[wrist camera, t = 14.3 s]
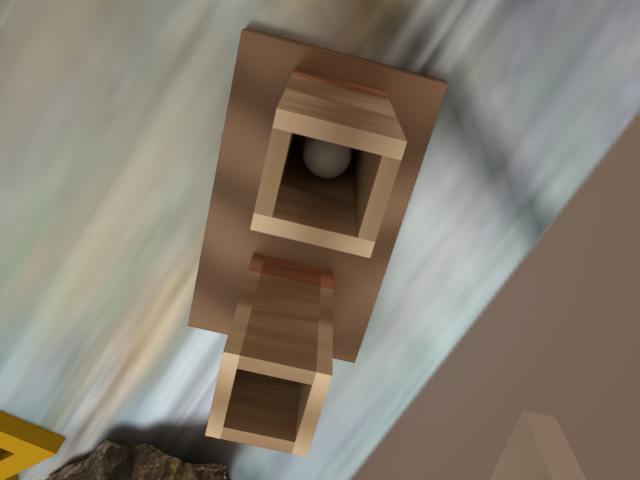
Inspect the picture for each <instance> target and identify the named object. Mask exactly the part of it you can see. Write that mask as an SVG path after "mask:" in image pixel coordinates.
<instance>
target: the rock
mask: <svg viewBox="0 0 640 480" xmlns="http://www.w3.org/2000/svg"><path fill="white" fill-rule="evenodd" d="M46 480H231V479H229V477H228V474H227V469H226V465H223V464H219V463H211V464H191V463H186V462H184V461H182V460H180V459H178V458H176V457H173V456H170V455H168V454H166V453H165V452H163V451H161V450H159V449H157V448H156V447H154V446H152V445H150V444H140V445H138V446H136V447H134V446H131V445H129V444H126V443H123V442H117V441H112V440H109V439H107V440H104V441H103V442H102V443H101V444H100V445H99V446H98V447H97V449H96V450H95V451H94V452H93V453H92V454H91V455H90V456H89V458H88V459H86V460H83V461H80V462H77V463H73V464H70V465H67V466H65V467H64V468H63V469H62V470H61V471H60V472H59V473H56V474H53V475H52V476H51V477H50V478H47V479H46Z"/></svg>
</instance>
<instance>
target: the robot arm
mask: <svg viewBox="0 0 640 480" xmlns="http://www.w3.org/2000/svg"><path fill="white" fill-rule="evenodd" d="M490 480H586V479H585V477H584V475H583V473H582V471H581V469H580V467H579V465H578V463H577V461H576V459H575V457H574V455H573V453H572V451H571V449H570V447H569V445H568V443H567V441H566V439H565V437H564V435H563V433H562V431H561V429H560V427H559V425H558V423H557V421H556V419H555V417H551V416H546V415H541V414H536V413H531V412H526V411H523V412H522V414H521V417H520V419H519V420H518V423H517V425H516V427H515V429H514V431H513V433H512V435H511V437H510V439H509V441H508V443H507V446H506V448H505V450H504V452H503V454H502V456H501V458H500V460H499V462H498V464H497V466H496V469H495V471H494V473H493V475H492V477H491V479H490Z"/></svg>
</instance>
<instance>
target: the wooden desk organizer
mask: <svg viewBox="0 0 640 480" xmlns="http://www.w3.org/2000/svg"><path fill="white" fill-rule="evenodd" d="M294 69H298V70H302V71H306V72H310V73H314V74H318V75H321V76H325V77H329V78H333V79H337V80H341V81H344V82H348V83H352V84H356V85H360V86H364V87H367V88H371V89H375V90H379V91H383V92H386V93H387V96H388V98H389V100H390V103H391V105H392V107H393V110H394V112H395V114H396V117H397V119H398V121H399V124H400V126H401V128H402V130H403V133H404V135H405V137H406V140H407V144H406V147H405V151H404V154H403V157H402V160H401V163H400V166H399V169H398V172H397V176H396V179H395V182H394V185H393V188H392V191H391V194H390V197H389V201H388V204H387V207H386V210H385V213H384V216H383V219H382V223H381V226H380V229H379V232H378V235H377V238H376V241H375V244H374V248H373V251H372V254H371V257H370V258H368V257H363V256H359V255H355V254H351V253H347V252H342V251H338V250H334V249H330V248H325V247H321V246H317V245H313V244H309V243H304V242H300V241H296V240H292V239H288V238H283V237H279V236H275V235H271V234H266V233H262V232H258V231H254V230H250V228H251V223H252V219H253V214H254V210H255V205H256V200H257V196H258V191H259V187H260V182H261V177H262V173H263V168H264V164H265V159H266V154H267V150H268V145H269V141H270V136H271V131H272V127H273V122H274V118H275V113H276V108H277V106H278V104H279V102H280V100H281V97H282V95H283V93H284V91H285V89H286V87H287V84H288V82H289V80H290V78H291V76H292V73H293V71H294ZM447 86H448V84H447V83H446V82H445V81H444V80H441V79H438V78H434V77H430V76H426V75H422V74H419V73H415V72H411V71H407V70H403V69H400V68H396V67H392V66H388V65H385V64H381V63H377V62H373V61H369V60H366V59H362V58H358V57H354V56H351V55H347V54H343V53H339V52H335V51H332V50H328V49H324V48H320V47H317V46H313V45H309V44H305V43H301V42H298V41H294V40H290V39H286V38H283V37H279V36H275V35H271V34H267V33H264V32H260V31H256V30H252V29H249V28H244V29H243V30H242V32H241V38H240V43H239V49H238V54H237V59H236V65H235V70H234V76H233V81H232V87H231V92H230V98H229V103H228V109H227V114H226V120H225V125H224V131H223V136H222V142H221V147H220V153H219V158H218V164H217V169H216V175H215V180H214V186H213V191H212V197H211V202H210V208H209V213H208V219H207V224H206V230H205V235H204V241H203V246H202V252H201V257H200V262H199V268H198V273H197V279H196V284H195V290H194V295H193V301H192V306H191V312H190V317H189V323H188V326H191V327H195V328H200V329H204V330H209V331H213V332H218V333H222V334H227V335H228V338H227V341H226V345H225V348H224V351H223V355H222V360H221V365H220V369H219V374H218V378H217V383H216V388H215V392H214V397H213V402H212V406H211V411H210V415H209V420H208V425H207V429H206V434H205V436H209V437H214V438H219V439H224V440H229V441H233V442H238V443H243V444H248V445H253V446H257V447H262V448H267V449H272V450H277V451H281V452H286V453H291V454H296V455H301V456H305V457H307V454H308V450H309V447H310V444H311V441H312V438H313V435H314V432H315V429H316V425H317V422H318V419H319V416H320V413H321V410H322V407H323V403H324V400H325V397H326V394H327V391H328V388H329V385H330V381H331V378H332V358H335V359H339V360H344V361H348V362H353V363H355V360H356V357H357V354H358V351H359V348H360V346H361V343H362V340H363V337H364V334H365V331H366V328H367V325H368V322H369V319H370V316H371V313H372V310H373V307H374V304H375V301H376V298H377V295H378V292H379V289H380V286H381V283H382V280H383V277H384V274H385V271H386V268H387V265H388V262H389V259H390V256H391V253H392V250H393V247H394V244H395V241H396V238H397V235H398V232H399V229H400V226H401V223H402V220H403V217H404V214H405V211H406V208H407V205H408V202H409V199H410V196H411V193H412V190H413V187H414V184H415V181H416V178H417V175H418V172H419V169H420V166H421V163H422V160H423V157H424V154H425V151H426V148H427V146H428V143H429V140H430V137H431V134H432V131H433V128H434V125H435V122H436V119H437V116H438V113H439V110H440V107H441V104H442V101H443V98H444V95H445V92H446V89H447ZM291 149H295V150H299V151H303V158H304V162H305V164H306V166H307V168H308V169H309V170H310V171H311V172H312V173H313V174H314V175H316V176H318V177H321V178H333V177H336V176H338V175H340V174H342V173H343V172H344V171H345V170H346V169H347V167H348V165H349V163H351V164H352V160H353V157H354V153H355V150H356V149H355V148H351V147H347V146H343V145H339V144H335V143H331V142H327V141H323V140H319V139H315V138H311V137H307V136H303V135H299V134H295V133H294V136H293V140H292V144H291Z"/></svg>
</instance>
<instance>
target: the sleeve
mask: <svg viewBox="0 0 640 480" xmlns="http://www.w3.org/2000/svg"><path fill="white" fill-rule="evenodd" d="M294 133H295V134H299V135H303V136H307V137H311V138H315V139H319V140H323V141H327V142H331V143H335V144H339V145H343V146H347V147H351V148H355V149H356V150H355V153H354V157H353V160H352V164H351V163H349V165H348V167H347V169H346V170H345V171H344V172H343V173H342V174H340V175H338V176H336V177H333V178H321V177H318V176H316V175H314V174H313V173H312V172H311V171H310V170H309V169H308V168H307V166H306V164H305V162H304V158H303V151H299V150H295V149H291V144H292V140H293V136H294ZM406 144H407V140H406V137H405V135H404V133H403V130H402V128H401V126H400V124H399V121H398V119H397V117H396V114H395V112H394V110H393V107H392V105H391V103H390V100H389V98H388V96H387V93H386V92H383V91H379V90H375V89H371V88H367V87H364V86H360V85H356V84H352V83H348V82H344V81H341V80H337V79H333V78H329V77H325V76H321V75H318V74H314V73H310V72H306V71H302V70H298V69H294V71H293V73H292V76H291V78H290V80H289V82H288V84H287V87H286V89H285V91H284V93H283V95H282V97H281V100H280V102H279V104H278V106H277V108H276V113H275V118H274V122H273V127H272V131H271V136H270V141H269V145H268V150H267V154H266V159H265V164H264V168H263V173H262V177H261V182H260V187H259V191H258V196H257V200H256V205H255V210H254V214H253V219H252V223H251V228H250V230H254V231H258V232H262V233H266V234H271V235H275V236H279V237H283V238H288V239H292V240H296V241H300V242H304V243H309V244H313V245H317V246H321V247H325V248H330V249H334V250H338V251H342V252H347V253H351V254H355V255H359V256H363V257H368V258H370V257H371V254H372V251H373V248H374V244H375V241H376V238H377V235H378V232H379V229H380V226H381V223H382V219H383V216H384V213H385V210H386V207H387V204H388V201H389V197H390V194H391V191H392V188H393V185H394V182H395V179H396V176H397V172H398V169H399V166H400V163H401V160H402V157H403V154H404V151H405V147H406Z"/></svg>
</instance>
